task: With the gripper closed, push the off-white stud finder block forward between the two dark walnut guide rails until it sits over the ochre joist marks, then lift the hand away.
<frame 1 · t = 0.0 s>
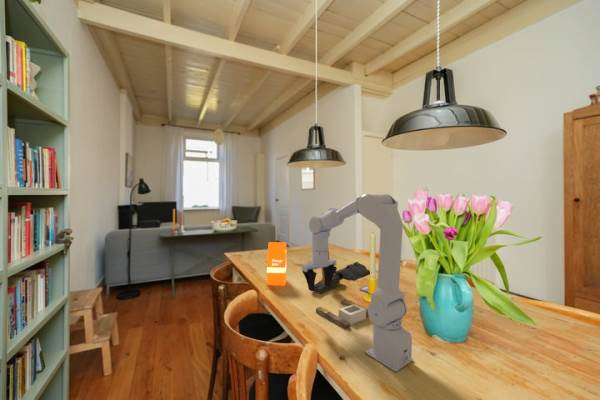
hand: (319, 288, 93), 10 cm above the table, tool pointing down, fingers open, 7 cm apart
hammer: (326, 288, 120), on the table
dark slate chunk: (351, 274, 144), on the table
orange juice: (276, 282, 128), on the table
guide rails: (344, 314, 94), on the table
smartphone: (377, 294, 116), on the table
stud finder: (352, 319, 91), on the table
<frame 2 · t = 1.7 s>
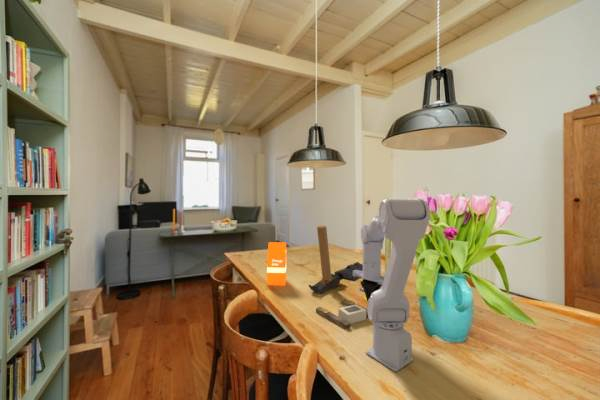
hand: (371, 303, 85), 8 cm above the table, tool pointing down, fingers closed
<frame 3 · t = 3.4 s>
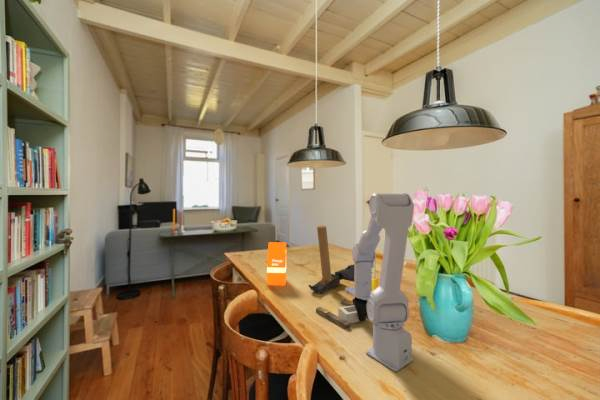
hand: (362, 320, 88), 1 cm above the table, tool pointing down, fingers closed
stud finder: (352, 319, 91), on the table, touching gripper
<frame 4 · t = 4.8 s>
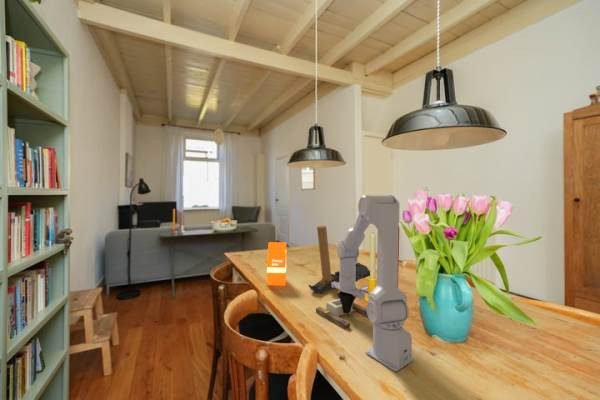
hand: (346, 312, 93), 1 cm above the table, tool pointing down, fingers closed
stud finder: (339, 311, 97), on the table
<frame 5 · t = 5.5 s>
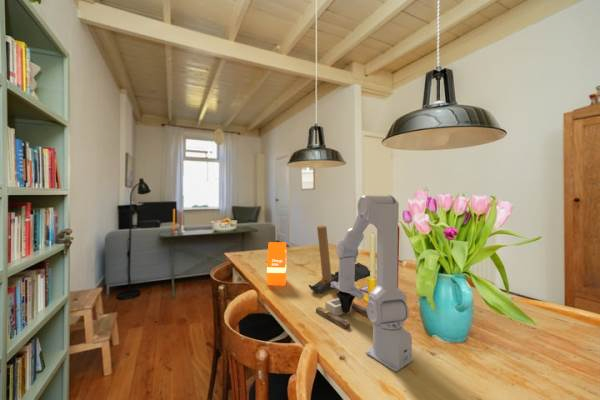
hand: (346, 312, 94), 1 cm above the table, tool pointing down, fingers closed
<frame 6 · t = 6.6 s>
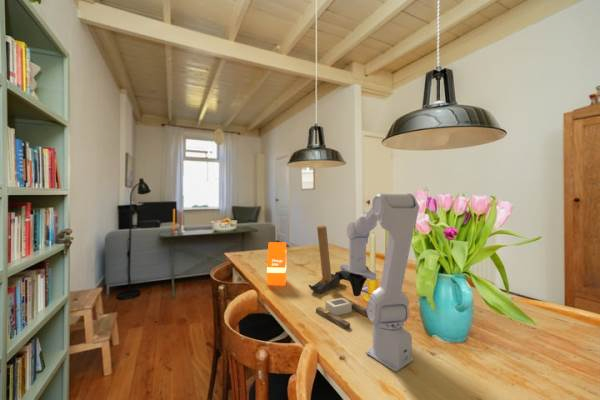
hand: (356, 295, 90), 9 cm above the table, tool pointing down, fingers closed
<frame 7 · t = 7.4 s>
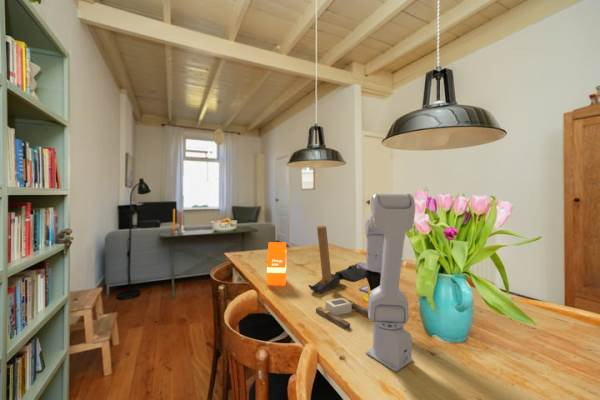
hand: (374, 292, 90), 9 cm above the table, tool pointing down, fingers closed
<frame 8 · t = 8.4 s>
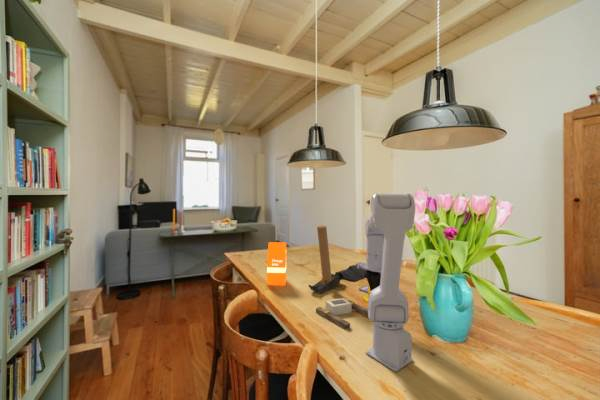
hand: (374, 292, 90), 9 cm above the table, tool pointing down, fingers closed
at the end: stud finder 0.4 cm from the target spot, on the table; stud finder tilted 0° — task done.
